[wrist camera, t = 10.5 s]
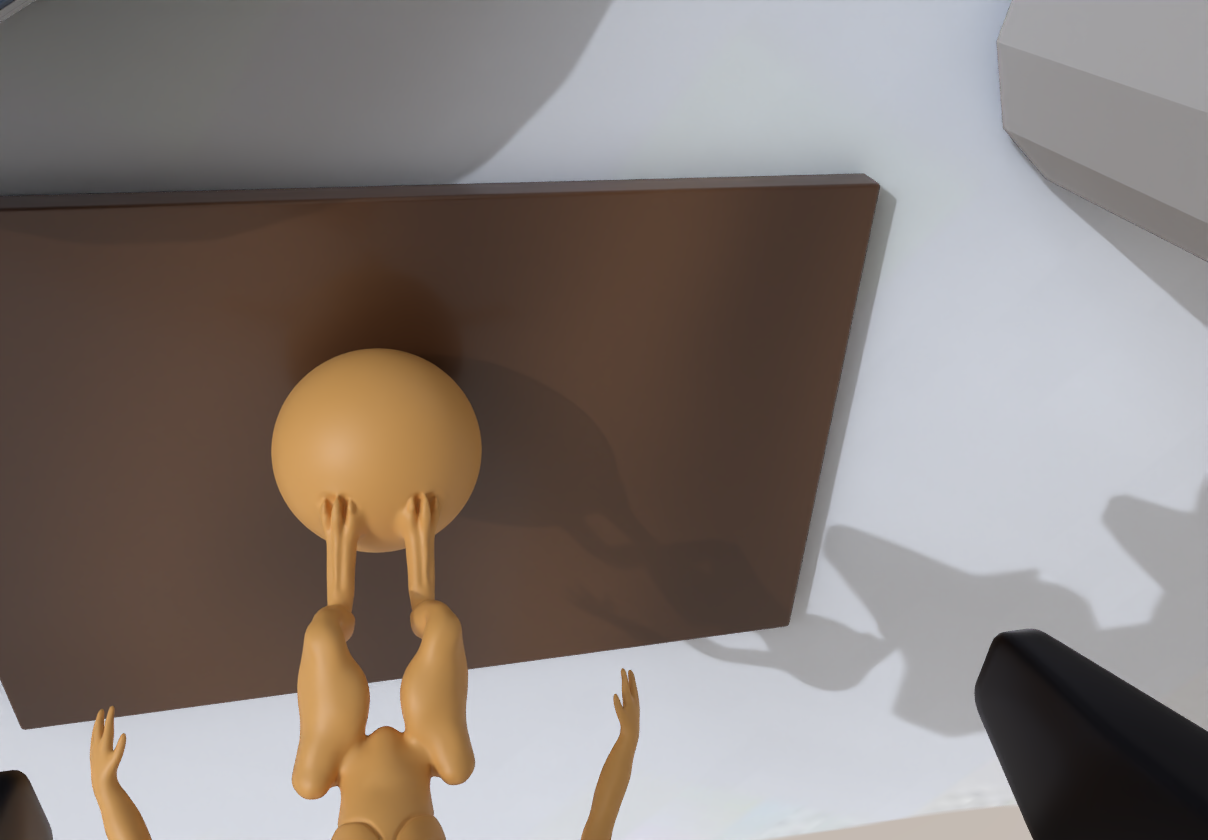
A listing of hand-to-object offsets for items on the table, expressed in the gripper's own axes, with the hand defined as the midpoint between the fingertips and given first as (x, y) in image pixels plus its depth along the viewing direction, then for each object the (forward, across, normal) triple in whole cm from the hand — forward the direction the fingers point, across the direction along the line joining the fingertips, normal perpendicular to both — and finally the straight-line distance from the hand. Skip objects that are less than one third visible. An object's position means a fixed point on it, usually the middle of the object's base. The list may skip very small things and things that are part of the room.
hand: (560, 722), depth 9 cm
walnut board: (+12, +1, +6) cm, 14 cm away
